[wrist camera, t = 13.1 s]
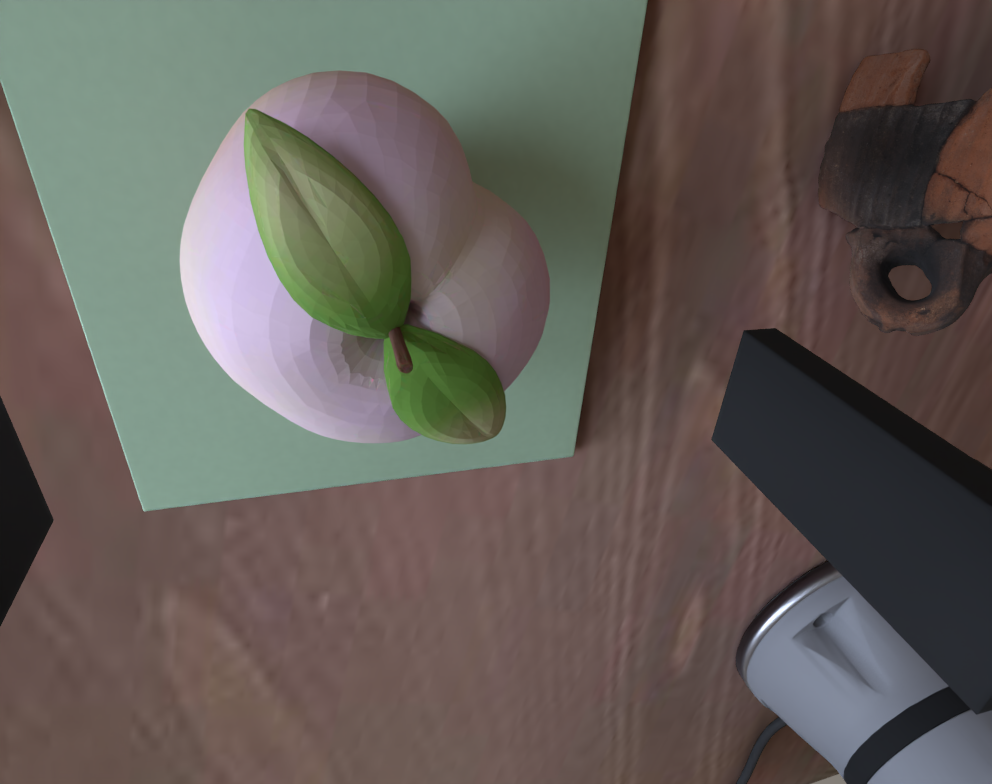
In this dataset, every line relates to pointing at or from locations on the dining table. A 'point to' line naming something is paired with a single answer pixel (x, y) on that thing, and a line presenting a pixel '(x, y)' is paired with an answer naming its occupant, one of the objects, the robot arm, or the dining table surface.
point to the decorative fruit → (361, 266)
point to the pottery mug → (910, 191)
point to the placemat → (199, 133)
